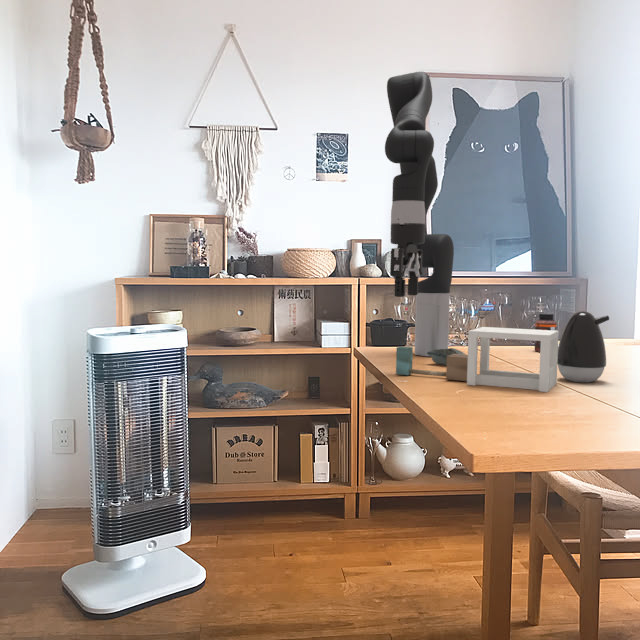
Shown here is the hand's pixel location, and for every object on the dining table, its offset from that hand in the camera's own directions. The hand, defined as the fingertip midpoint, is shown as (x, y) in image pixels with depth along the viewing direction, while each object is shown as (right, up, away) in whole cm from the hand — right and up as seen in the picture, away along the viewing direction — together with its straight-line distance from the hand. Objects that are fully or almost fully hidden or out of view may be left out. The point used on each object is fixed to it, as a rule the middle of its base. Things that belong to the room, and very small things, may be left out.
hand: (406, 295), depth 156 cm
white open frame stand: (+21, -19, -10) cm, 30 cm away
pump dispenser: (+38, -19, -3) cm, 42 cm away
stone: (+14, -17, +19) cm, 29 cm away
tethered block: (+6, -18, -2) cm, 19 cm away
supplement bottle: (+47, -15, +50) cm, 70 cm away
